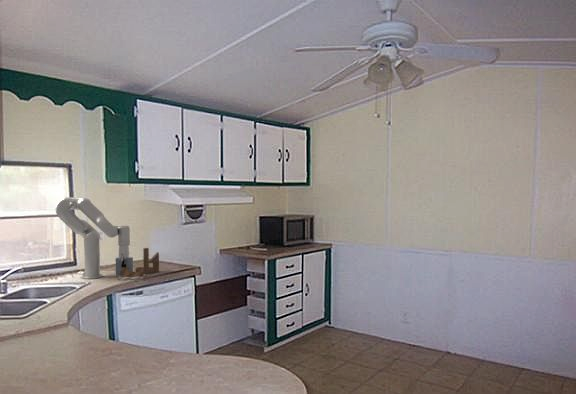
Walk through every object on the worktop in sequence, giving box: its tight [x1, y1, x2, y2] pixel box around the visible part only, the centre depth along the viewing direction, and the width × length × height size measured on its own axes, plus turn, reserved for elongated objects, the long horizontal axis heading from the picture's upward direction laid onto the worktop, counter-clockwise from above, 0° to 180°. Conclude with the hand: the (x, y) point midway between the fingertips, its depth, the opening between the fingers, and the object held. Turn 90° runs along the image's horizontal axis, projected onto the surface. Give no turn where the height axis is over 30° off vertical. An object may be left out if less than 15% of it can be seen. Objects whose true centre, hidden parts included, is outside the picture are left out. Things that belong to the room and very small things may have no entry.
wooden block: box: [142, 247, 160, 274], centre depth 301 cm, size 4×11×18 cm, turn 126°
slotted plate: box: [115, 256, 134, 276], centre depth 293 cm, size 3×11×12 cm, turn 97°
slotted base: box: [117, 266, 147, 281], centre depth 283 cm, size 16×11×7 cm
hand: (124, 268), depth 293 cm, fingers closed on slotted plate, 3 cm apart
